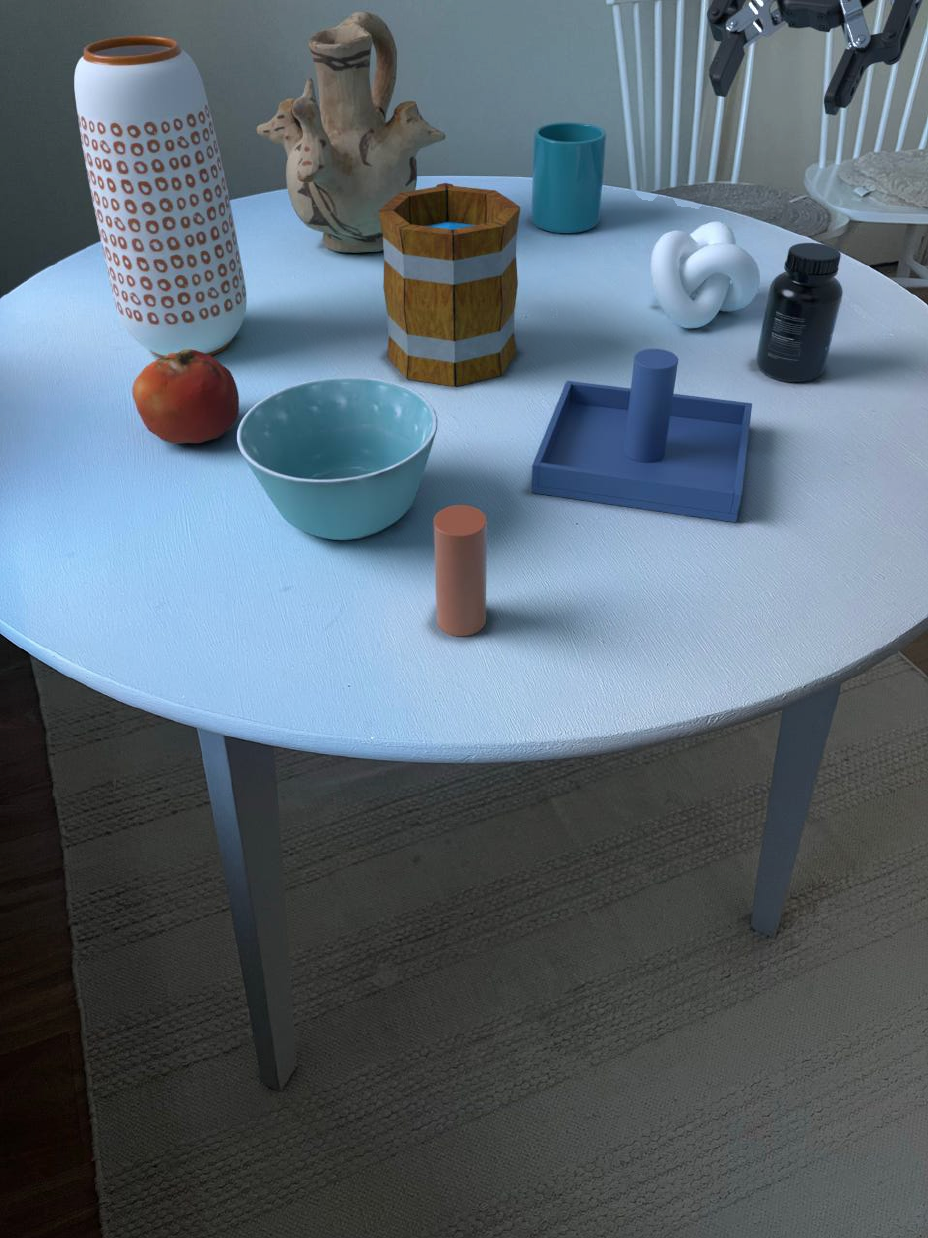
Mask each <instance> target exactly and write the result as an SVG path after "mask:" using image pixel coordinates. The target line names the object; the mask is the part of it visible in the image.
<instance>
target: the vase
mask: <svg viewBox="0 0 928 1238" xmlns="http://www.w3.org/2000/svg"><path fill="white" fill-rule="evenodd" d="M73 80H74V81H73V83H74V85H73V86H74V97H75V105H76V112H77V118H78V126H79V132H80V139H81V147H82V152H83V156H84V157H83V158H84V161H85V162H84V163H85V168H86V173H87V179H88V184H89V189H90V194H91V201H92V205H93V210H94V214H95V219H96V220H95V221H96V224H97V228H98V234H99V238H100V243H101V246H102V253H103V256H104V261H105V266H106V270H107V275H108V279H109V285H110V288H111V294H112V298H113V301H114V306H115V309H116V311H117V312H116V313H117V315H118V317H119V319H120V321H121V323H122V325H123V327H124V328H125V330H126V331H127V332H128V334H129V335H130V336H131V337H132V338H133V340H135V341H136V342H137V343H138V344H140V345H141V346H142V347H144V348H145V349H146V350H149V352H150V353H151V354H153V355H154V356H156V357H158V358H159V359H161V358H164V357H166V356H167V355H168V354H170V353H179V352H181V351H182V350H190V349H191V350H196V351H199V352H202V353H205V354H207V355H209V356H211V357H213V356H214V355H216V354H219V353H221V352H222V351H224V350H226V348H228V346H229V345H230V344H231V342H232V340H233V338H234V337H235V336H236V335H237V333H238V331H239V330H240V329H241V327H242V324H243V322H244V319H245V315H246V312H247V304H248V303H247V287H246V281H245V275H244V270H243V265H242V259H241V253H240V247H239V243H238V237H237V232H236V226H235V221H234V215H233V210H232V205H231V200H230V195H229V190H228V185H227V181H226V175H225V171H224V166H223V160H222V157H221V152H220V147H219V143H218V138H217V134H216V133H217V132H216V129H215V126H214V125H215V124H214V122H213V118H212V114H211V109H210V106H209V102H208V98H207V94H206V89H205V85H204V83H203V79H202V77H201V74H200V71H199V69H198V67H197V65H196V63H195V62H194V60H193V58H192V57H191V56H190V55H189V54H188V52H186V51H185V50H184V49H182V48H181V47H180V45H179V42H177V40H175V39H172V38H170V37H169V38H168V37H164V36H163V37H162V36H156V35H155V36H154V35H129V36H120V37H119V36H118V37H112V38H106V39H102V40H101V39H100V40H98V41H94V42H92V43H89V44H88V45H86V46H85V47H84V48H83V55H82V56H81V57H80V58H79V60H78V62H77V64H76V67H75V70H74V77H73Z"/></svg>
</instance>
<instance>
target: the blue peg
mask: <svg viewBox="0 0 928 1238" xmlns="http://www.w3.org/2000/svg"><path fill="white" fill-rule="evenodd" d="M678 366H679V358H678V356H677V355H676V354H675V353H673V352H671V351H669V350H665V349H661V348H647V349H643V350H639V351H638V352H636V354H634V357H633V367H632V373H631V374H632V376H631V382H630V388H631V392H630V401H629V409H628V418H627V427H626V435H625V444H624V453H625V454H626V456H627V457H629V458H630V459H632V460H635V461H638V462H655V461H658V460H660V459H661V458H662V457H663V456H664V454H665V448H666V441H667V435H668V428H669V421H670V414H671V407H672V400H673V394H675V388H676V387H675V385H676V379H677V373H678Z"/></svg>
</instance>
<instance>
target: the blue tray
mask: <svg viewBox="0 0 928 1238" xmlns="http://www.w3.org/2000/svg"><path fill="white" fill-rule="evenodd" d="M630 392H631V387H622V386H615V385H606V384H598V383H590V382H581V381H573V380H566V381H565V384H564V386H563V389H562V391H561V393H560V396H559V398H558V401H557V403H556V405H555V408H554V411H553V413H552V415H551V418H550V420H549V422H548V426H547V427H546V431H545V433H544V435H543V438H542V441H541V443H540V446H539V447H538V450H537V452H536V455H535V457H534V460H533V463H532V464H531V465H532V466H531V486H530V487H531V488H530V493H532V494H538V495H546V496H553V497H560V498H566V499H573V500H579V501H587V502H594V503H599V504H600V503H601V504H607V505H614V506H619V507H627V508H634V509H640V510H649V511H653V512H654V511H655V512H662V513H668V514H675V515H683V516H689V517H695V518H702V519H710V520H715V521H721V522H729V523H737V521H738V516H739V510H740V506H741V501H742V497H743V489H744V481H745V473H746V462H747V456H748V455H747V454H748V446H749V445H748V444H749V437H750V427H751V420H752V418H751V417H752V409H753V403H752V402H744V401H736V400H728V399H720V398H711V397H703V396H696V395H687V394H679V393H674V394H673V400H672V407H671V414H670V421H669V428H668V435H667V441H666V448H665V454H664V456H663V457H662V458H661V459H660V460H658V461H655V462H638V461H635V460H632V459H630V458H629V457H627V456H626V454H625V453H624V444H625V435H626V427H627V418H628V409H629V401H630Z"/></svg>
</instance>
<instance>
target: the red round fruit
mask: <svg viewBox="0 0 928 1238" xmlns="http://www.w3.org/2000/svg"><path fill="white" fill-rule="evenodd" d="M237 386H238V385H237V383H236V381H235V378H234V376H233V374H232V372H231V370H229V368H227V367H226V366H225V365H223V364H222V363H221V362H220V361H219V360H217V359H216V358H214V357H213V356H209V355H207V354H205V353H202V352H199V351H196V350H191V349H190V350H182V351H181V352H179V353H170V354H168V355H167V356H166V357H164V358H157V359H156V360H154V361H152V362H150V363H149V364H148V365H146V366H145V367H144V368H143V369H142V371H141V372H140V373H139V375H138V376H136V378H135V380H134V382H133V384H132V389H131V391H132V392H131V394H132V398H133V401H134V404H135V406H136V410H137V413H138V414H139V416H140V418H141V420H142V422H143V424H144V426H145V427H146V429H147V430H148V431H149V432H150V433H152V434H153V435H155V436H157V437H158V439H160V440H162V441H164V442H167V443H170V444H176V445H177V444H202V443H204V442H207V441H212V440H215V439H218V438H219V437H221V436H222V435H224V434H226V433H227V432H228V431H229V430H230V429H231V428H232V427H233V426H234V425H235V423H236V422H237V420H238V417H239V411H240V397H239V389H238V387H237Z"/></svg>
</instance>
